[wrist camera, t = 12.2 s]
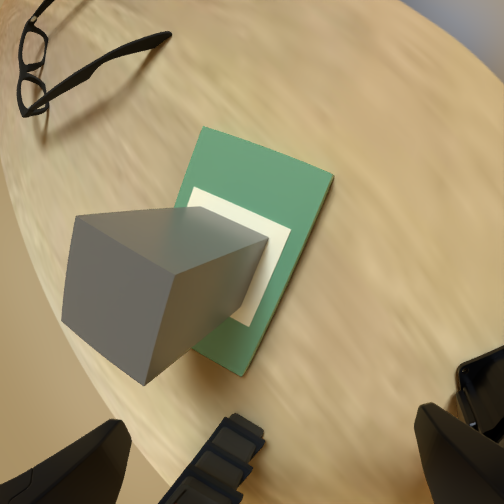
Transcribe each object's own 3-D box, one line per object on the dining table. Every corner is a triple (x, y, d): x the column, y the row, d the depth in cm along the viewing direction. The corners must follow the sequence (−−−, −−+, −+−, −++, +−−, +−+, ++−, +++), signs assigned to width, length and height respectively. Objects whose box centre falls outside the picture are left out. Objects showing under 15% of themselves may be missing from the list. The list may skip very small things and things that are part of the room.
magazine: (173, 485, 27) (109, 559, 12) (238, 398, 29) (196, 454, 14) (202, 504, 26) (154, 587, 11) (271, 418, 28) (257, 489, 13)
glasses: (48, 32, 27) (19, 24, 23) (152, -55, 20) (124, -75, 16) (52, 136, 28) (15, 134, 24) (177, 44, 21) (138, 22, 17)
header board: (334, 175, 19) (326, 168, 15) (247, 369, 23) (221, 403, 19) (211, 129, 21) (174, 114, 17) (151, 312, 25) (112, 332, 21)
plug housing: (200, 206, 21) (76, 215, 11) (269, 237, 20) (175, 274, 10) (178, 273, 22) (61, 320, 12) (240, 307, 21) (143, 386, 11)
